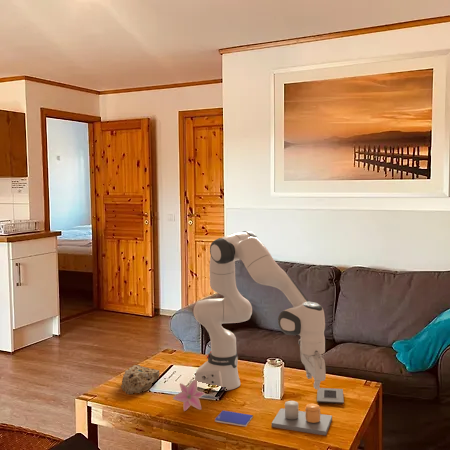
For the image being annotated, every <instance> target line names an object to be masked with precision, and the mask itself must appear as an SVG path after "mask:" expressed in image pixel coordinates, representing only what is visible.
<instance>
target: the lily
mask: <svg viewBox="0 0 450 450" xmlns="http://www.w3.org/2000/svg"><path fill="white" fill-rule="evenodd" d="M190 382H191V381H190ZM179 387H180V388H179V389H180V391H181V392H178V393H177V394H176V395H174V396H173V397H172V399H173V400H174V401H178V402H180V403H181V402H182V403H183V412H185V411H187V410H188V409H189V408H190V407H191V406H192V407H193V408H196V409H197V410H199V411H200V410H202V405H201V401H200V398H202V397H203V396H204V395H205V394H206V393H205V392H203V391H200V390H198V388H197V380H196V379H195V380H193V381H192V382H191V384H190V383H189V385H188V386H187V385H185V384H183V383H182V382H181V383H179Z"/></svg>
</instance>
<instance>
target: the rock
mask: <svg viewBox="0 0 450 450" xmlns="http://www.w3.org/2000/svg"><path fill="white" fill-rule="evenodd" d="M160 374H161V373H160V369H156V368H149V367H147V366H146V367H145V366H142V365H140V364H133V365H131V366H130V367H129V368H128V369H125V371H124V374H123V376H122V379H121V380H122V381H121V385H120V387H121V390H122V391H123V392H124V391H125V392H124V393H125V394H126V395H134V394H133V393H139V394H140V393H143V392H145V391H149V390H150V389H151V387H152V386H153V384H154V383H155V382H156V381H158V380H159V378H160ZM157 379H158V380H157ZM152 383H153V384H152ZM142 391H143V392H142Z"/></svg>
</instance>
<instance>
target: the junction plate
mask: <svg viewBox="0 0 450 450" xmlns="http://www.w3.org/2000/svg"><path fill="white" fill-rule="evenodd" d="M332 421H333V415H330V414H322V413H320V421H319V422H316V423H312V422H308V421H307V420H306V411H302V410H299V402H298V401H295V400H288V401H285V403H284V408H279V410H278V412H277V413H276V416H275V417H274V419H273V420H272V422H271V428H277V429H281V430H283V429H284V430H290V431H296V432H302V433H307V434H314V435H319V436H321V435H322V436H327V434H328V431H329V428H330V426H331V424H332Z"/></svg>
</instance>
